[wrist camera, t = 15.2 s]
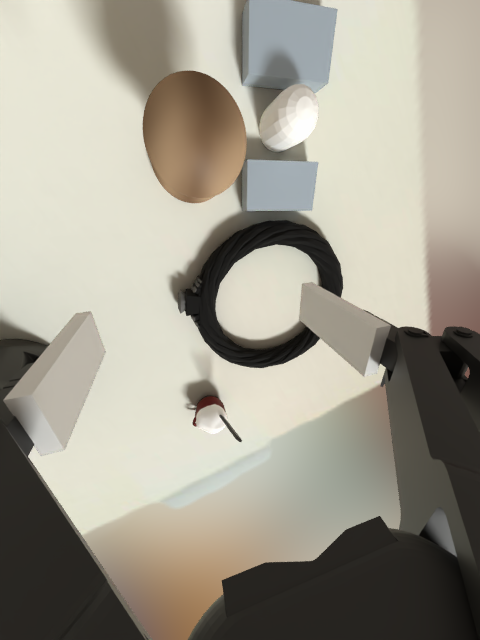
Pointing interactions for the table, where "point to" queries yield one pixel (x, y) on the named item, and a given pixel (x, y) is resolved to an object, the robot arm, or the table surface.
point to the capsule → (289, 118)
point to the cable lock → (220, 262)
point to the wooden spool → (194, 136)
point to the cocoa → (212, 416)
